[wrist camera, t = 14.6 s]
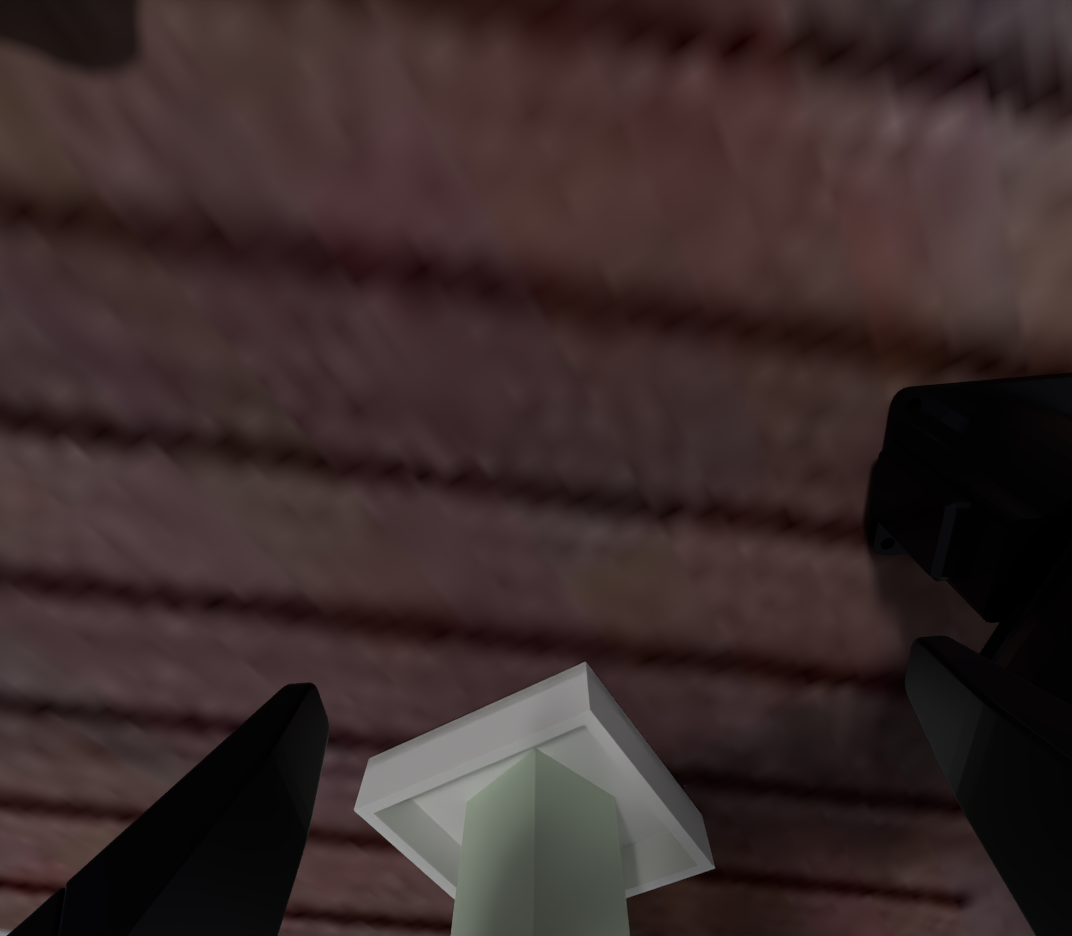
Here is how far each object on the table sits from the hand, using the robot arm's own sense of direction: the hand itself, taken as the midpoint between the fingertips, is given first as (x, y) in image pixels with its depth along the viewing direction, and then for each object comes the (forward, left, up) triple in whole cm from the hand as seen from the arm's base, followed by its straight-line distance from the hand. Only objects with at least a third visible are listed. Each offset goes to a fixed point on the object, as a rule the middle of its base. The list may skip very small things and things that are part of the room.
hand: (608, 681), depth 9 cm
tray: (+3, +20, -13) cm, 24 cm away
